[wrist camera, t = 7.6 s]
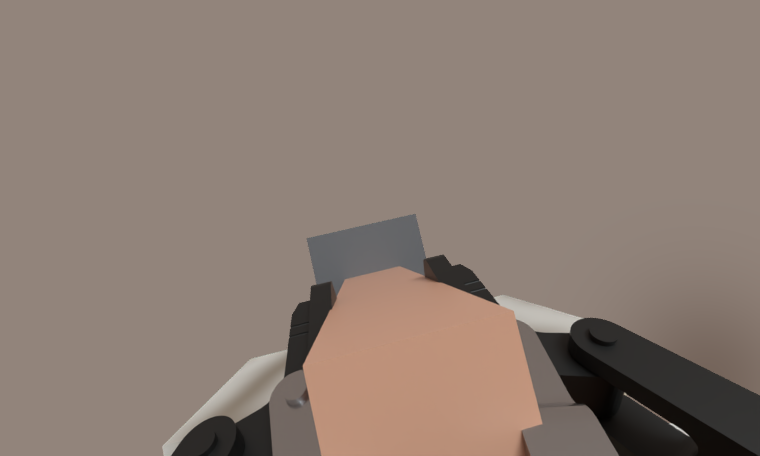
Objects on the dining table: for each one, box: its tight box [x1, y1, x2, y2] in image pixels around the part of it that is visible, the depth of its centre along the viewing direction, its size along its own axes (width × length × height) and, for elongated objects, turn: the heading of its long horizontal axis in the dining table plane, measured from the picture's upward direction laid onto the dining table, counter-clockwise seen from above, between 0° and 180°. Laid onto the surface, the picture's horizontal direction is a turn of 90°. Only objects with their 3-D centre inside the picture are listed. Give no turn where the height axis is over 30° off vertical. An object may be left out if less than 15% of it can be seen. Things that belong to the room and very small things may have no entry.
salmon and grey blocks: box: [303, 214, 542, 456], centre depth 15 cm, size 20×7×6 cm, turn 4°
